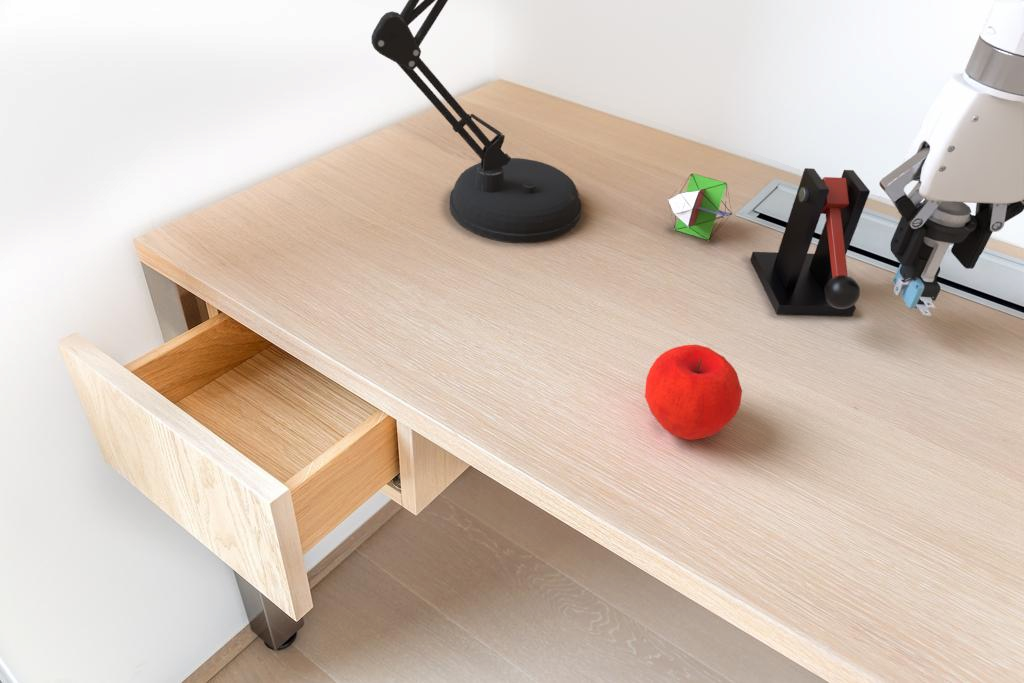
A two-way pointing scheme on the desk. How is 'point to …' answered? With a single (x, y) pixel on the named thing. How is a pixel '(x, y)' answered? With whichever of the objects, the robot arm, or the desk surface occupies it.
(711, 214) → the geometric puzzle
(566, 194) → the desk lamp
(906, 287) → the push button
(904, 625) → the desk surface
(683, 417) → the apple
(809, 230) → the bracket
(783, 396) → the desk surface
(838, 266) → the lever
